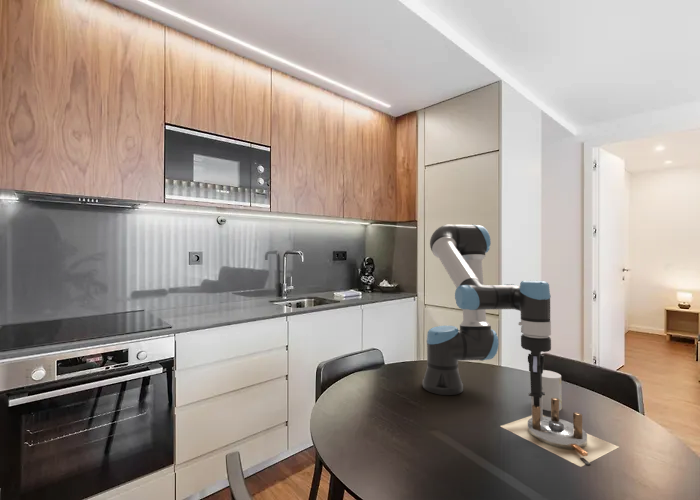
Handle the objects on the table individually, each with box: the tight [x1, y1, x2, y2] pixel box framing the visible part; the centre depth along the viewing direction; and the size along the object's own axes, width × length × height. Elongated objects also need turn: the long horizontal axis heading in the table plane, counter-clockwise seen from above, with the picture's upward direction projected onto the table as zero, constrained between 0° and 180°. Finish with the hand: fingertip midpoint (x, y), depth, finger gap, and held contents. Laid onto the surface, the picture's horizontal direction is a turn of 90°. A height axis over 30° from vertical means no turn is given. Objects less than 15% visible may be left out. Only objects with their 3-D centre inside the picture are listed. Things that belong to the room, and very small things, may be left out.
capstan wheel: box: [528, 398, 588, 456], centre depth 92 cm, size 14×18×8 cm
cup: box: [542, 369, 563, 412], centre depth 114 cm, size 8×8×12 cm
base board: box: [499, 414, 620, 468], centre depth 94 cm, size 23×18×2 cm
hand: (537, 418), depth 97 cm, fingers closed
